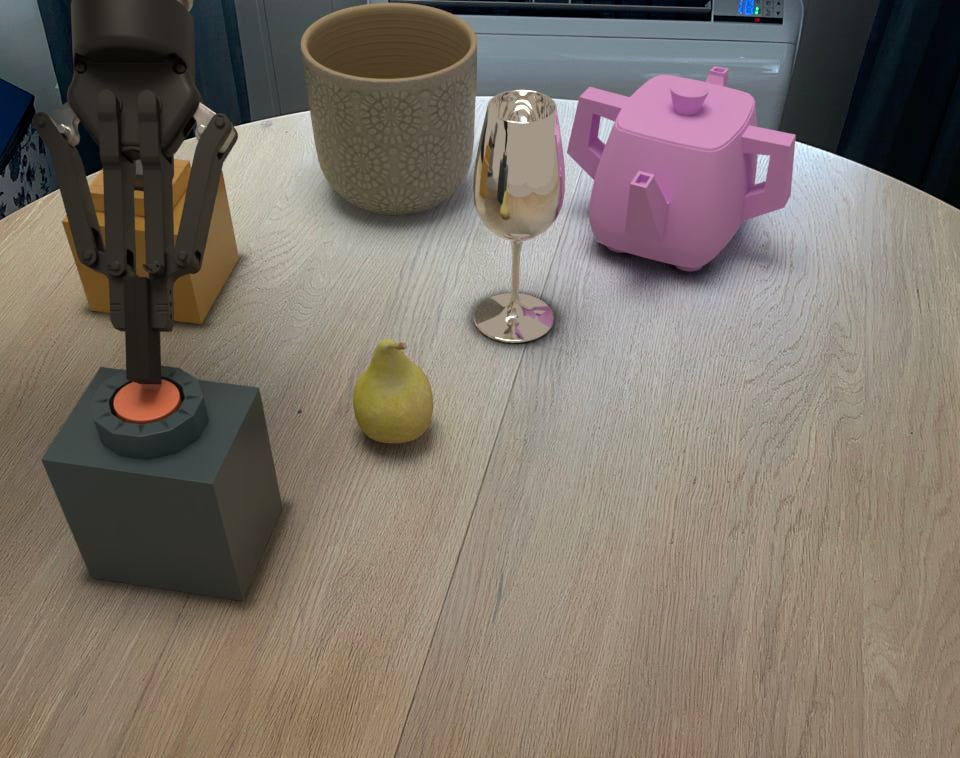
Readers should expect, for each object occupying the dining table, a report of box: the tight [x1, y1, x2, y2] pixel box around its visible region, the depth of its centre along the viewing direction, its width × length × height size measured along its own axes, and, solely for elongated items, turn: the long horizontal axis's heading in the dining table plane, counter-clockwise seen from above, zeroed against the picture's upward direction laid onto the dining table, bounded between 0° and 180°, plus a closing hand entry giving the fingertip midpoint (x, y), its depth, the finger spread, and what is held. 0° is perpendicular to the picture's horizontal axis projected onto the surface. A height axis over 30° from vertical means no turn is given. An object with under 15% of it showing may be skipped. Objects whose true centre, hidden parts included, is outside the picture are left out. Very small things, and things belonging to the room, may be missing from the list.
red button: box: [114, 379, 182, 425], centre depth 73 cm, size 4×4×2 cm
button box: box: [40, 365, 283, 602], centre depth 78 cm, size 12×10×14 cm
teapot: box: [566, 65, 797, 272], centre depth 104 cm, size 19×18×15 cm
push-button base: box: [61, 158, 240, 325], centre depth 100 cm, size 11×11×11 cm
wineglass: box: [472, 89, 566, 344], centre depth 93 cm, size 8×8×20 cm
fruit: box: [352, 338, 435, 444], centre depth 86 cm, size 7×8×12 cm
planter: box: [300, 2, 478, 216], centre depth 109 cm, size 17×17×15 cm
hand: (144, 381), depth 72 cm, fingers closed
